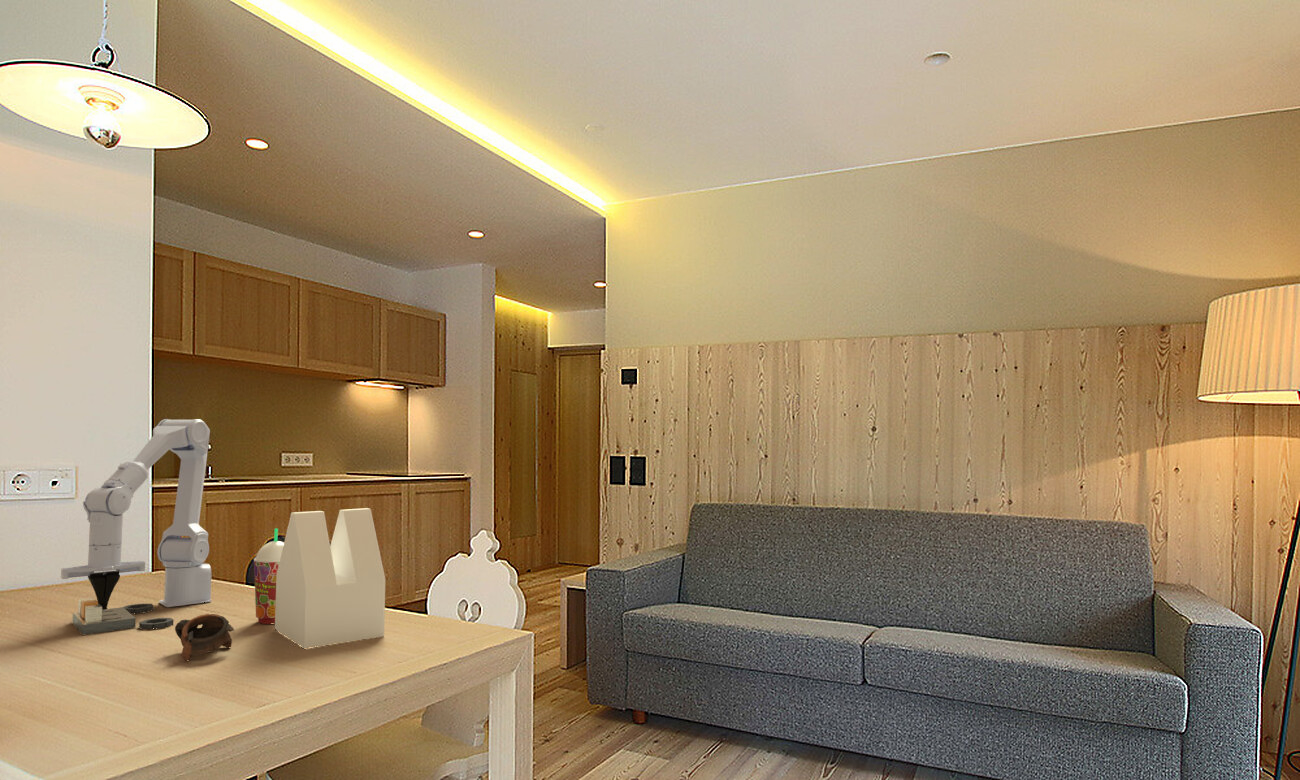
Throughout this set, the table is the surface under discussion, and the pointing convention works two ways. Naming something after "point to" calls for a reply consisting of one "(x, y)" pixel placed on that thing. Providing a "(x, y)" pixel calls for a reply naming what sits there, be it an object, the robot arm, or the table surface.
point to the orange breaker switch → (87, 603)
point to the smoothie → (267, 579)
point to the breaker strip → (102, 619)
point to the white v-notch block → (330, 580)
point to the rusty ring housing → (203, 634)
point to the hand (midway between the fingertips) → (102, 609)
